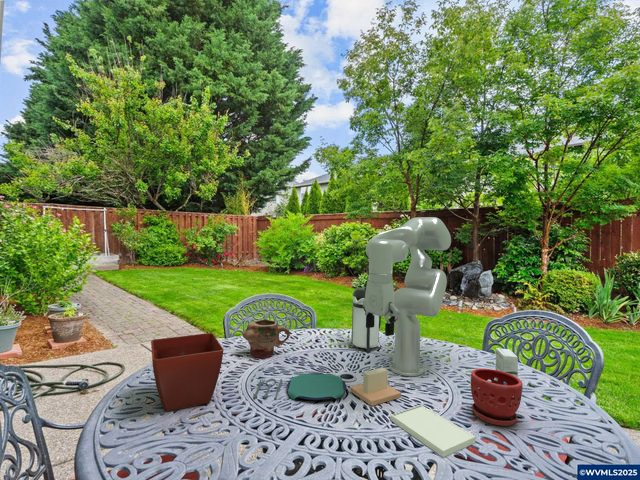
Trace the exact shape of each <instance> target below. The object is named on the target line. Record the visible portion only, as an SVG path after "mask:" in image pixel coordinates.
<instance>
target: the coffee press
mask: <svg viewBox="0 0 640 480" xmlns="http://www.w3.org/2000/svg"><path fill="white" fill-rule="evenodd" d="M363 285H364V287H358V288H355V289H354V291H353V292H352V294H351V295H352V308H351V309H352V311H351V315H352V316H351V318H352V319H351V341H350V343H349V345H348V347H349V348H350V349H352V348H354V347H357V348H362V349H365V351H366V354H367V353H368V354H370V353H371V349H373V348H376V347H378V349H381V348H382V345H381V343H380V328H381V326H382V325H381V324H382V323H381V321H382V316H378V315H375V314H373V315H374V327H372V328H366V315H365V311H364V309H363V308H364V307H363V303H362V301H363V300H365V293H366V286H367V282H365V283H364V284H363ZM378 345H380V346H378Z"/></svg>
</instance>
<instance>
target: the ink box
mask: <svg viewBox="0 0 640 480" xmlns="http://www.w3.org/2000/svg"><path fill="white" fill-rule="evenodd" d="M518 361H519V358H518V356H517V355H516V354H515V353H514V352H513V351H512V350H511V349H508V348H499V347H498V348H497V347H496V348H495V370H498V371H502V372H505V373H508V374H511V375H513V376H515V377H517V378H518V377H519V375H518V374H519V373H518V370H519V369H518V368H519V367H518V366H519V363H518ZM518 379H519V378H518ZM494 380H495V381H498V379H497V378H494ZM504 384H505V385H507V383H506V382H504Z"/></svg>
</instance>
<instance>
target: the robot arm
mask: <svg viewBox="0 0 640 480" xmlns="http://www.w3.org/2000/svg"><path fill="white" fill-rule="evenodd" d="M451 243H452V237H451V233H450V232H449V230H448V228H447V226H446V224H445V223H444V222H443V221H442V219H440V218H438V217H434V216H432V217H430V216H428V217H426V216H424V217H421V216H419V217H411V218H410V219H408V220H407V221H406V222H404V223H403V224H402V225H401V226H399V227H396V228H393V229H389V230H387V231H386V230H385V231H383V232H380V233H377V234H375V236H373V237H372V238H370V240H368V242H367V244H366V247H365V253H366V256H367V258H368V281H367V282H366V283H367V286H366V293H365V300H363V301H362V303H363V307H364V308H363V309H364V311H365V315H366V328H372V327H374V315H373V314H375V315H378V316H381V317H384V319H385V323H384V336H385V337H390V336H394V351H393V352H391V353H390V354H389V355H388V358H389V359H390V360H392V362H391V363H390V364H389V370H390V371H392V372H393V373H395V374H397V375H400V376H405V377H418V376H421V375H423V374H424V370H425V369H424V367H423V366H422V365H420V362H421V361H420V360H421V357H420V355H421V323H420V321H419V319H418V317H417V316H423V317H429V318H431V317H432V318H433V317H437V315H439V312H440V311H441V307H442V305H443V304H442V303H443V301H444V300H443V299H444V296H445V293H446V288H447V275H446V273H445V272H444V271H443V270H441V269H438V268H433V267H432V266H433V261H432V259H431V257H430V256H429V255H428V254H427V253H426V252H425V251H426V250H427V251H447V250H448V249H449V248H450V246H451V245H452V244H451ZM409 253H410V258H411V260H410V263H409V266H408V268H407V272H406V275H405V277H404V286H405V287H402V288H401V287H400V288H398V289H397V290H394V285H393V265H394V264H393V263H400V262H403V261H405V260H406V259H407V258H408V256H409Z"/></svg>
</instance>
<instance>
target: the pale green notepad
mask: <svg viewBox="0 0 640 480" xmlns="http://www.w3.org/2000/svg"><path fill="white" fill-rule="evenodd" d="M389 417H390V419H389V420H390V421H391V422H392V423H394V424H395V425H397V426H398V427H400V428H401V429H402V430H404V431H405V432H406V433H408V434H409V435H411V436H412V437H414V438H415V439H416V440H418V441H419V442H421V444H423V445H425V446H427V447H428V448H430V449H431V450H432V451H434V452H435V453H436V454H438V455H440V457H442V458H445V457H447V456H450V455H451V454H454V453H455V452H456V453H457V452H458V451H461V450H462V449H465V448H467V447H469V446H471V445H473V444H475V443H476V440H477V439H476V438H477V437H476V436H475V435H473V434H472V433H470V432H469V431H467V430H466V429H464V428H462V427H461V426H459V425H456V424H455V423H453V422H452V421H450V420H448V419H446V418H445V417H443V416H442V415H439V414H437V413H436V412H434V411H433V410H431V409H428V408H427V406H426V407H425V406H424V405H422V404H419V405H416V406H413V407H411V408H410V407H409V408H407V409H403V410H401V411H398V412H395V413H392V414H390V416H389Z"/></svg>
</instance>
